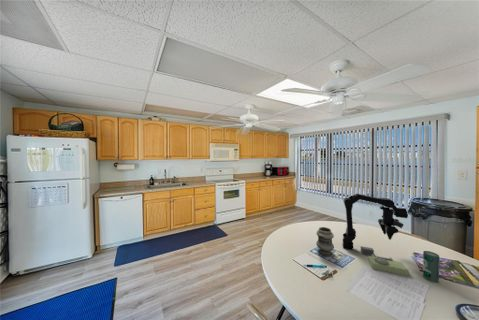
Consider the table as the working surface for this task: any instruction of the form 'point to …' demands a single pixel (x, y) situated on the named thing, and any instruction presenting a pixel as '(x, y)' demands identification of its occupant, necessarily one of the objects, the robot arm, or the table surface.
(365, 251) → the grey stepped block
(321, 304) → the table surface
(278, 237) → the table surface
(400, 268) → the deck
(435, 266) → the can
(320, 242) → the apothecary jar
